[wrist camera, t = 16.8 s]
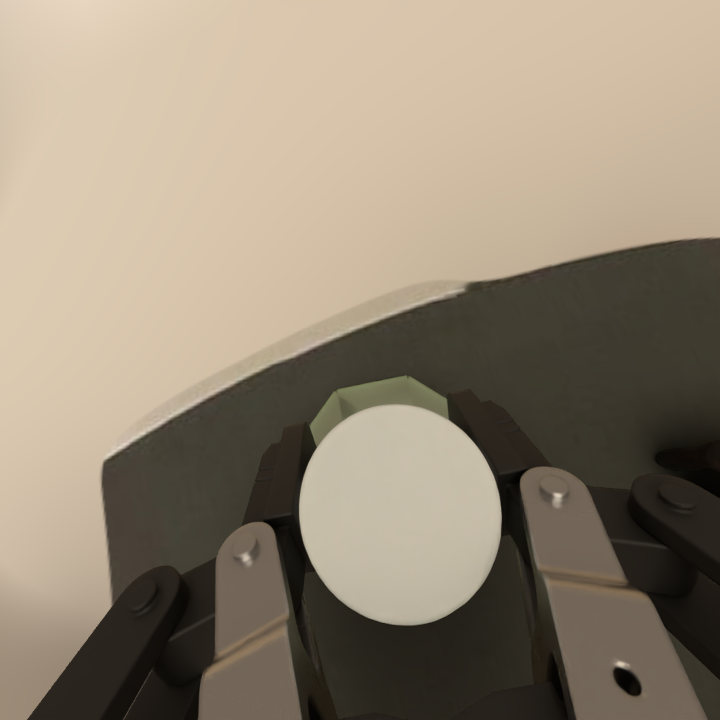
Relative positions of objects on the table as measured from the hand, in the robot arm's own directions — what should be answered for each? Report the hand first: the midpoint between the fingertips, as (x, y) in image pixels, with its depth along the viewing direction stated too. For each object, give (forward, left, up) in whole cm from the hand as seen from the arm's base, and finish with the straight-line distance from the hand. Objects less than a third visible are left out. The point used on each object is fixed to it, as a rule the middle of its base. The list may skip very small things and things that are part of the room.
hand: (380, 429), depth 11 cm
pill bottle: (0, -2, -4) cm, 5 cm away
